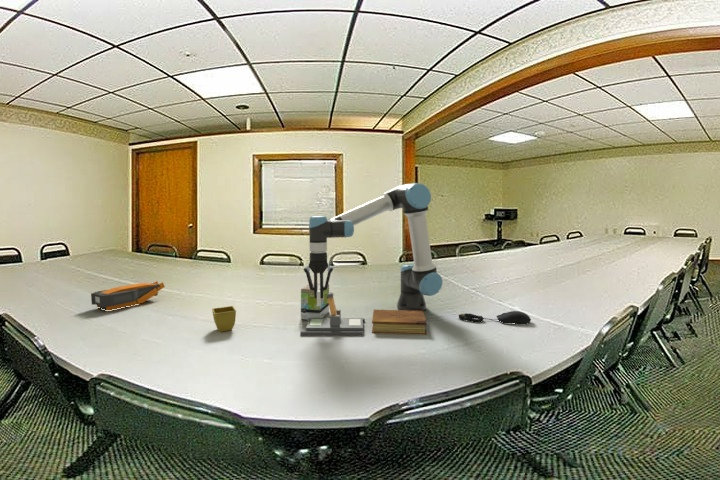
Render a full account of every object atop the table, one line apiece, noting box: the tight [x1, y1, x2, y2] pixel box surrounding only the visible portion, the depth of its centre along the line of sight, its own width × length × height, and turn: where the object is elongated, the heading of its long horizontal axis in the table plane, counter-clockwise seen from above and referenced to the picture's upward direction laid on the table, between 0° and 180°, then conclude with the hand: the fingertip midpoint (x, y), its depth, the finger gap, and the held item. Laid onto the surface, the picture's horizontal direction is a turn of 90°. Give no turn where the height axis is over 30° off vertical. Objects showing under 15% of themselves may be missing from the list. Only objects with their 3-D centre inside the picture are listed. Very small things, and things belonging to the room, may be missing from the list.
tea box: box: [300, 282, 330, 321], centre depth 183 cm, size 15×10×15 cm
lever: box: [327, 291, 337, 315], centre depth 164 cm, size 3×6×13 cm, turn 0°
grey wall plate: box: [299, 317, 366, 337], centre depth 165 cm, size 27×19×1 cm
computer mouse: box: [458, 310, 532, 325], centre depth 176 cm, size 10×32×6 cm, turn 82°
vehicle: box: [90, 280, 166, 310], centre depth 204 cm, size 14×34×10 cm, turn 148°
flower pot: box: [211, 305, 237, 333], centre depth 163 cm, size 9×9×9 cm
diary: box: [371, 309, 428, 336], centre depth 167 cm, size 23×19×6 cm
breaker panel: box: [305, 308, 364, 332], centre depth 165 cm, size 24×14×7 cm, turn 90°
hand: (319, 305), depth 164 cm, fingers closed
